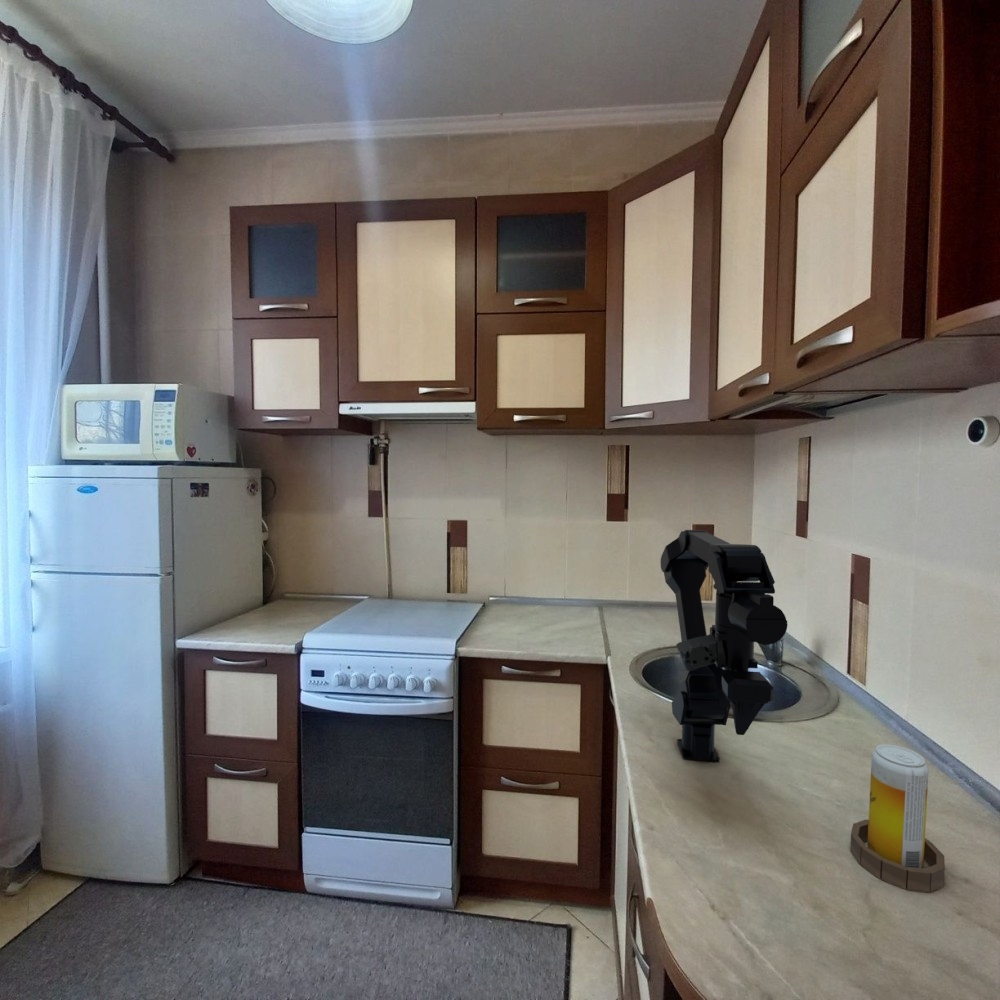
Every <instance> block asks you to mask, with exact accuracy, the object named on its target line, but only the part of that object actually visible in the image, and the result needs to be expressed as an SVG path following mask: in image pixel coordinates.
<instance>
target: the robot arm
mask: <svg viewBox="0 0 1000 1000" xmlns="http://www.w3.org/2000/svg"><path fill="white" fill-rule="evenodd" d="M660 569H661V572H663V575H664V580H665V584H666V585H667V586H668V587H669V589H671V591H672V592H673V593H674V594H675V602H676V607H677V616H678V623H679V630H680V639H681V641H680V642H678V643H676V645H675V646H676V648H677V652H678V654H679V656H680V657H679V658H680V660H681V663H682V665H683V666H684V670H683V672H682V675H681V677H680V680H679V682H678V692H677V693H676V695H675V696H674V698H673V699H672V701H671V711H672V713H671V714H672V715H673V717H674V718H675V719H676V721H677V723H678V724H679V725H680V726H681V738H677V739H676V743H677V747H678V749H679V752H680V754H681V757H682V758H683V759H685V760H693V761H694V760H695V761H705V762H706V761H707V762H716V763H718V762H720V760H721V759H720V756H719V754H718V752H717V749H716V748H715V735H716V732H715V730H716V726H717V725H718V726H727V722H728V718H729V714H730V709H731V708H732V717H733V723H734V730H735V734H736V735H739V736H744V735H745V734H746V732H747V731H748V729H749V728H750V726H751V724H752V723H753V721H754V720H755V719H756V717H757V715H758V714H759V713H760V712H761V710H762V709H763V707H764V706H765V705H766V704H770V703H769V702H772V701H774V697H775V696H774V695H775V693H774V692H775V688H774V686H773V684H772V683H770V681H769V680H768V679H767V678H766V677H765V676H764V675H763V674H762V672H760V671H750V670H749V669H758V667H759V665H758V661H757V659H755V656H754V653H755V643H757V644H759V645H765V646H769V645H773V644H776V643H778V642H779V641H781V639H782V638H783V637H784V636H785V634H786V632H787V629H788V620H787V617H786V615H785V613H784V612H783V610H782V609H781V608H779V607H778V606H776V605H774V602H775V599H774V596H773V594H775V593H776V590H775V586H774V585H775V583H776V581H775V579H774V576H773V573H772V572H771V570H770V569H771V568H770V567H769V564H768V562H767V559H766V557H765V554H764V553H763V552H762V550H761V548H760V547H759V546H758V545H756V544H743V543H742V544H739V543H738V544H737V543H730V542H728V541H726V540H724V539H722V538H720V537H718V536H716V535H714V534H711V533H710V531H707V530H706V529H685V530H682V531H680V532H679V535H678V537H677V538H676V539H674V540H672V541H670V542H669V543H668V544H667V545H665V547H664V550H663V551H662V554H661V556H660ZM707 571H708V572H709V574H710V575H711V577H712V579H713V581H714V584H713V586H712V587H713V589H714V590H715V612H714V613H715V618H714V624H712V625H711V626H710V627H709V634H707V629H706V628H707V627H706V623H705V616H704V615H705V614H704V609H703V603H702V596H701V589H702V586H703V585H704V582H705V580H706V577H707Z"/></svg>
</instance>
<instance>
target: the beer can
mask: <svg viewBox="0 0 1000 1000" xmlns="http://www.w3.org/2000/svg"><path fill="white" fill-rule="evenodd" d="M870 763H871V766H870V783H869V784H870V788H869V803H868V804H869V806H868V820H869V824H868V841H867V845H866V847H868V848H869V849H871V850H872V851H874V852H875V853H877V854H878V855H880V856H881V857H883V858H884V859H887V860H890V861H892V862H895V863H898V864H900V865H903V866H906V867H914V868H924V864H925V863H924V861H925V860H924V846H925V839H926V824H927V823H926V822H927V810H928V808H927V807H928V806H927V805H928V792H929V791H928V789H929V786H928V785H929V774H930V773H929V772H930V771H929V768H928V766H927V763H926V760H925V758H924V757H923V756H922V755H921V754H920V753H918V752H916V751H913V750H912V749H909V748H906V747H903V746H901V745H894V744H888V743H887V744H886V743H885V744H884V743H882V744H879V745H877V746H876V747H875V750H874V751H873V752H872V753H871V762H870Z"/></svg>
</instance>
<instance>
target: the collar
mask: <svg viewBox="0 0 1000 1000" xmlns="http://www.w3.org/2000/svg"><path fill="white" fill-rule="evenodd" d="M868 824H869V819H863V820H860V821H857V822H854V823H853V824H852V828H851V831H850V848H849V849H850V853H851V855H852V856H853V857H854V859H855V860H856V862H857V863H858V864H859V865H860V867H862V868H864V869H865V870H867V872H869V873H870V874H872V876H873V875H874V876H875V877H876V878H878V879H879V880H881V881H883V882H886V883H888V884H890V885H893V886H896V887H899V888H901V889H903V890H905V891H911V892H912V891H913V892H920V893H921V892H922V893H933V892H935V891H937V890H939V889H942V888H944V887H945V869H946V868H945V867H946V863H945V855H944V854H943V852H941V851H940V849H938V847H936V846H935V844H934V843H933V842H932V841H931V840H928V838H925V846H924V861H925V862H926V864H928V867H926V868H924V867H923V868H914V867H906V866H903V865H900V864H898V863H895V862H892V861H890V860H887V859H884V858H883V857H881V856H880V855H878V854H877V853H875V852H874V851H872V850H871V849H869V848H868V847H867V845H866V843H865V842H868Z"/></svg>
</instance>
